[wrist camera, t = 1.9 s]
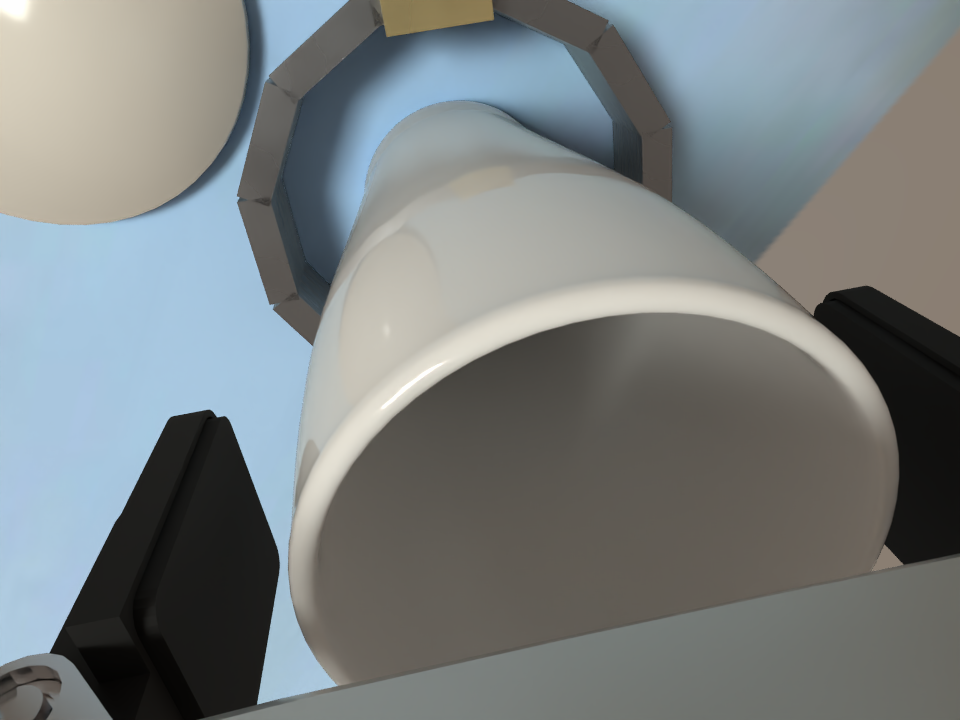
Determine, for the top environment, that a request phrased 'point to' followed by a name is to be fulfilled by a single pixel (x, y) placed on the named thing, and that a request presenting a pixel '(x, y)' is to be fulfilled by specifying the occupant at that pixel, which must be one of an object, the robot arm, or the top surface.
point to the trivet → (114, 102)
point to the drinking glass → (560, 412)
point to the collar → (408, 9)
